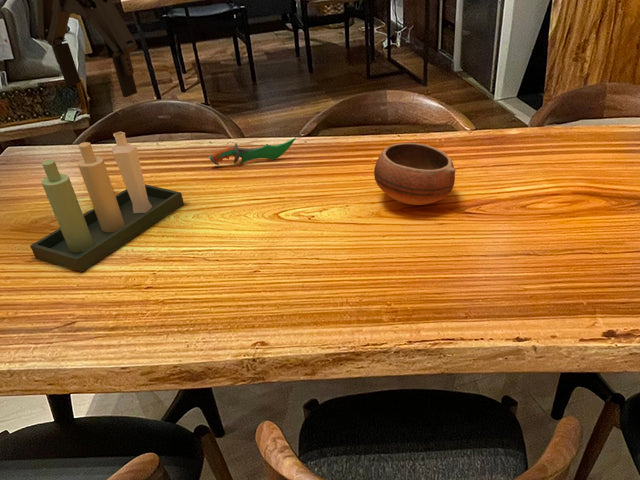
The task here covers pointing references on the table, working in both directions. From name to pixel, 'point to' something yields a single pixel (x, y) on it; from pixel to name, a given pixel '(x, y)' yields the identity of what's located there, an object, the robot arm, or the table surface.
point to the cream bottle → (100, 189)
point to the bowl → (414, 173)
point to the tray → (107, 242)
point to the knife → (251, 152)
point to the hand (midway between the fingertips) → (101, 89)
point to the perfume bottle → (131, 172)
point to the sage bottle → (66, 208)
